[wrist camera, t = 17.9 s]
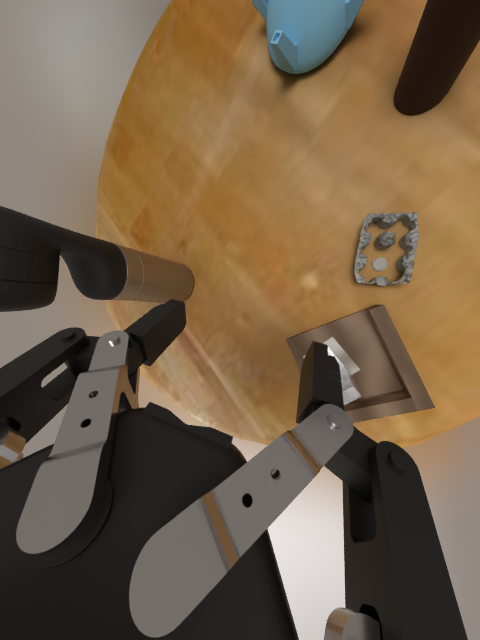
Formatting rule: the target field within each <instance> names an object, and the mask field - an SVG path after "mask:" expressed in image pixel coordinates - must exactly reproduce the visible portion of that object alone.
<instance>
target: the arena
mask: <svg viewBox="0 0 480 640" xmlns="http://www.w3.org/2000/svg"><path fill="white" fill-rule="evenodd" d="M287 341H288V344H289V346H290V348H291V350H292V353H293V355H294V357H295V359H296V362H297V364H298V366H299V369H300V371H301V368H302V363H303V360H304V358H305V356H306V354H307V351H308V349H309V347H310V345H311V343H312V341H316V342H320V343H323V344H327V345H328V346H329V347H330V348H331V350H332V351H333V352H334V353H335V354H336V356H337V357H338V358H339V359H340V360H341V362H342V363H343V364H344V365H345V366H346V368H347V369H348V370H349V371H350V373H351V375H352V377H353V379H354V381H355V383H356V386H357V388H358V390H359V392H360V394H361V397H359V398H357V399H356V400H354V401H352V402H350V403H348V404H346V405H344V410H345V412H346V413H347V415H348V416H349V417H350V419H351V421H352V423H355V422H360V421H366V420H371V419H377V418H382V417H388V416H393V415H398V414H404V413H409V412H415V411H420V410H426V409H431V408H435V406H434V404H433V402H432V400H431V398H430V396H429V394H428V392H427V390H426V388H425V386H424V384H423V382H422V380H421V378H420V376H419V374H418V372H417V370H416V368H415V366H414V364H413V362H412V360H411V358H410V356H409V354H408V352H407V350H406V348H405V346H404V344H403V342H402V340H401V338H400V336H399V334H398V332H397V330H396V328H395V326H394V324H393V322H392V320H391V318H390V316H389V314H388V312H387V310H386V308H385V306H384V305H375V306H372V307H369V308H367V309H364V310H362V311H359V312H356V313H354V314H351V315H348V316H346V317H343V318H341V319H338V320H335V321H333V322H330V323H327V324H325V325H322V326H320V327H317V328H314V329H312V330H309V331H306V332H304V333H301V334H298V335H296V336H293V337H291V338H288V339H287Z"/></svg>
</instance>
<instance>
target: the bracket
mask: <svg viewBox="0 0 480 640" xmlns="http://www.w3.org/2000/svg"><path fill="white" fill-rule="evenodd" d="M328 355H331V356H334V357H335V358H336V360H337V361H338V363H339V365H340V373H341V374H340V375H341V383H342V392H343V401H344V405H346V404H348V403H350V402H352V401H354V400H356V399H357V398H359V397H361V394H360V392H359V390H358V388H357V386H356V383H355V381H354V379H353V377H352V375H351V373H350V371H349V370H348V369H347V368H346V366H345V365H344V364H343V363H342V362H341V360H340V359H339V358H338V357H337V356H336V354H335V353H334V352H333V351H332V350H331V348H330V347H329V346H328Z"/></svg>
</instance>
